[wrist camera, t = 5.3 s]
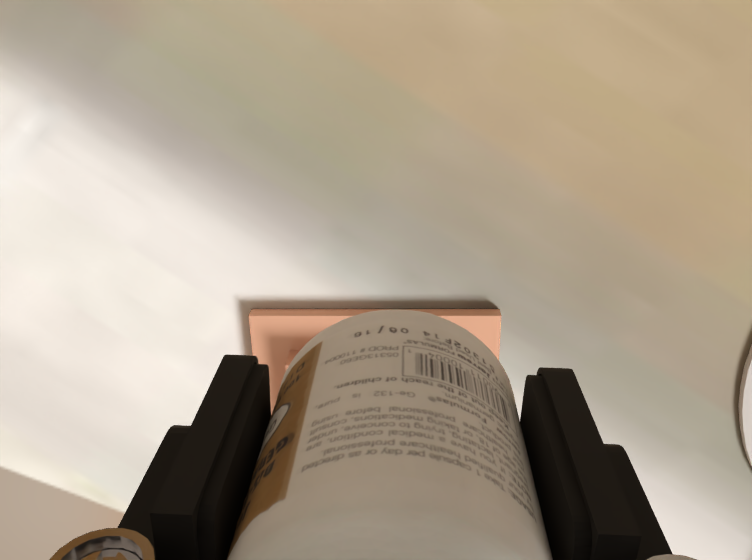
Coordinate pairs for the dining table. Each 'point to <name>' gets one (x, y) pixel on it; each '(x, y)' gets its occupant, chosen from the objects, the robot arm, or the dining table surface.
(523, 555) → the pill bottle
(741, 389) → the pliers
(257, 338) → the rest
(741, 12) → the dining table surface
